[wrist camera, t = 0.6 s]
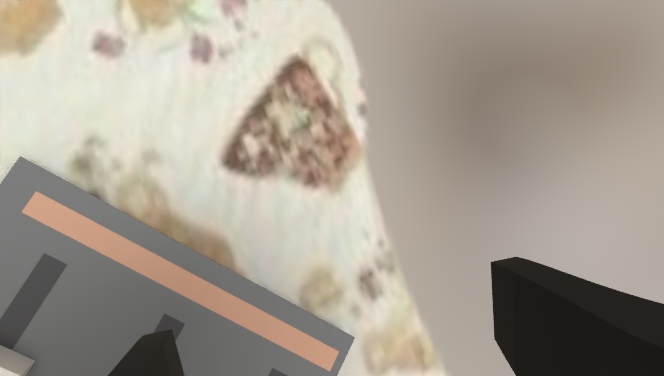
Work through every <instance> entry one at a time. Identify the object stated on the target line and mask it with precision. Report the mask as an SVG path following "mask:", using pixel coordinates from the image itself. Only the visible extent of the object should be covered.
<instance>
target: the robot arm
mask: <svg viewBox="0 0 664 376" xmlns="http://www.w3.org/2000/svg"><path fill="white" fill-rule="evenodd" d="M491 274H492V295H493V315H494V337H495V340H496V342H497V344H498V346H499V347H500V349H501V351H502V353H503V354H504V356H505V358H506V360H507V361H508V363H509V365H510V366H511V368H512V370H513V371H514V373H515V375H516V376H664V304H662V303H658V302H654V301H650V300H647V299H644V298H640V297H637V296H633V295H630V294H627V293H623V292H620V291H617V290H614V289H611V288H608V287H605V286H602V285H599V284H596V283H593V282H590V281H587V280H584V279H582V278H579V277H576V276H573V275H570V274H567V273H565V272H562V271H559V270H556V269H554V268H551V267H548V266H545V265H542V264H539V263H536V262H533V261H530V260H527V259H523V258H519V257H513V258H508V259H503V260H498V261H494V262H491ZM108 376H185V375H184V372H183V368H182V364H181V361H180V357H179V353H178V350H177V346H176V342H175V339H174V335H173V331H172V329H170V330H165V331H160V332H155V333H151V334H146V335H143V336H142V337H141V338H140V339H139V340H138V341H137V342H136V343H135V344H134V345H133V347H132V348H131V349H130V350H129V351H128V352H127V354H126V355H125V356H124V357H123V358H122V359H121V361H120V362H119V363H118V364H117V365H116V367H115V368H114V369H113V370H112V371H111V372H110V373H109V375H108Z"/></svg>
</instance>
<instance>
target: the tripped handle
mask: <svg viewBox="0 0 664 376" xmlns="http://www.w3.org/2000/svg"><path fill="white" fill-rule="evenodd" d="M34 362H35V360H33V359H30V358H28V357H26V356H24V355H22V354H19V353H17V352H15V351H13V350H11V349H8V348H6V347H4V346H2V345H0V376H26V375H27V373H28V372H29V370H30V368H31V367H32V365H33V364H34Z"/></svg>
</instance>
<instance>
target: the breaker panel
mask: <svg viewBox="0 0 664 376" xmlns="http://www.w3.org/2000/svg"><path fill="white" fill-rule="evenodd" d="M170 329H172V331H173V335H174V339H175V342H176V346H177V350H178V353H179V357H180V361H181V364H182V368H183V372H184V375H185V376H337V374H338V372H339V370H340V368H341V366H342V364H343V362H344V360H345V357H346V355H347V353H348V351H349V349H350V347H351V345H352V343H353V340H354V338H355V337H353V336H351V335H349V334H348V333H346V332H344V331H342V330H340V329H338V328H336V327H335V326H333V325H331V324H329V323H327V322H325V321H324V320H322V319H320V318H318V317H316V316H314V315H312V314H311V313H309V312H307V311H305V310H303V309H301V308H300V307H298V306H296V305H294V304H292V303H290V302H288V301H287V300H285V299H283V298H281V297H279V296H277V295H275V294H274V293H272V292H270V291H268V290H266V289H264V288H263V287H261V286H259V285H257V284H255V283H253V282H251V281H250V280H248V279H246V278H244V277H242V276H240V275H239V274H237V273H235V272H233V271H231V270H229V269H227V268H226V267H224V266H222V265H220V264H218V263H216V262H214V261H213V260H211V259H209V258H207V257H205V256H203V255H202V254H200V253H198V252H196V251H194V250H192V249H190V248H189V247H187V246H185V245H183V244H181V243H179V242H178V241H176V240H174V239H172V238H170V237H168V236H166V235H165V234H163V233H161V232H159V231H157V230H155V229H153V228H152V227H150V226H148V225H146V224H144V223H142V222H141V221H139V220H137V219H135V218H133V217H131V216H129V215H128V214H126V213H124V212H122V211H120V210H118V209H117V208H115V207H113V206H111V205H109V204H107V203H105V202H104V201H102V200H100V199H98V198H96V197H94V196H93V195H91V194H89V193H87V192H85V191H83V190H81V189H80V188H78V187H76V186H74V185H72V184H70V183H68V182H67V181H65V180H63V179H61V178H59V177H57V176H56V175H54V174H52V173H50V172H48V171H46V170H44V169H43V168H41V167H39V166H37V165H35V164H33V163H32V162H30V161H28V160H26V159H24V158H22V157H20V158H19V159H18V160H17V162H16V163H15V164H14V166H13V167H12V169H11V170H10V171H9V173H8V174H7V176H6V177H5V178H4V180H3V181H2V183H1V184H0V345H2V346H4V347H6V348H8V349H11V350H13V351H15V352H17V353H19V354H22V355H24V356H26V357H28V358H30V359H33V360H35V362H34V364H33V365H32V367H31V368H30V370H29V372H28V373H27V375H26V376H108V375H109V373H110V372H111V371H112V370H113V369H114V368H115V367H116V365H117V364H118V363H119V362H120V361H121V359H122V358H123V357H124V356H125V355H126V354H127V352H128V351H129V350H130V349H131V348H132V347H133V345H134V344H135V343H136V342H137V341H138V340H139V339H140V338H141V337H142V336H143V335H146V334H151V333H155V332H160V331H165V330H170Z"/></svg>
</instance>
